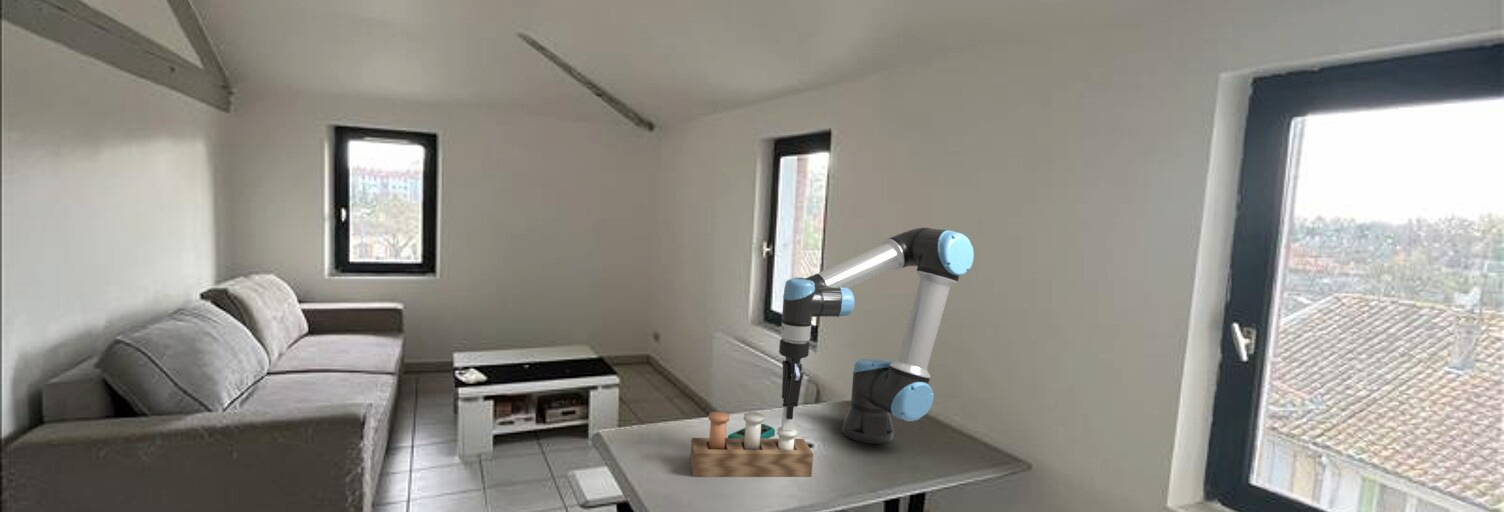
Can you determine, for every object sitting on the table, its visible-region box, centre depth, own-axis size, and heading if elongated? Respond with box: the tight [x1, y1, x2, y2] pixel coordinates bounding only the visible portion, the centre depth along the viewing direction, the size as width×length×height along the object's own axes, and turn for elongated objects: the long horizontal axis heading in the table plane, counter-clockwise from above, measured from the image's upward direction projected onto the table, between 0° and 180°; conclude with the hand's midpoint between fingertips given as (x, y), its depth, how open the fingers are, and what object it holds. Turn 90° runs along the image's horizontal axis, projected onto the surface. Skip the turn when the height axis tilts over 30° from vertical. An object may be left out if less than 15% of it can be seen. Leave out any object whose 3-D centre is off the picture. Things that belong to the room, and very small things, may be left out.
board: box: [689, 437, 814, 478], centre depth 174 cm, size 30×10×6 cm, turn 100°
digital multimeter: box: [727, 423, 776, 439], centre depth 194 cm, size 7×15×3 cm, turn 147°
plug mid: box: [743, 411, 765, 450], centre depth 173 cm, size 5×5×9 cm
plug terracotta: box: [708, 411, 730, 450], centre depth 172 cm, size 5×5×9 cm
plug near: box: [776, 426, 798, 450], centre depth 175 cm, size 5×5×9 cm
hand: (787, 429), depth 175 cm, fingers closed
